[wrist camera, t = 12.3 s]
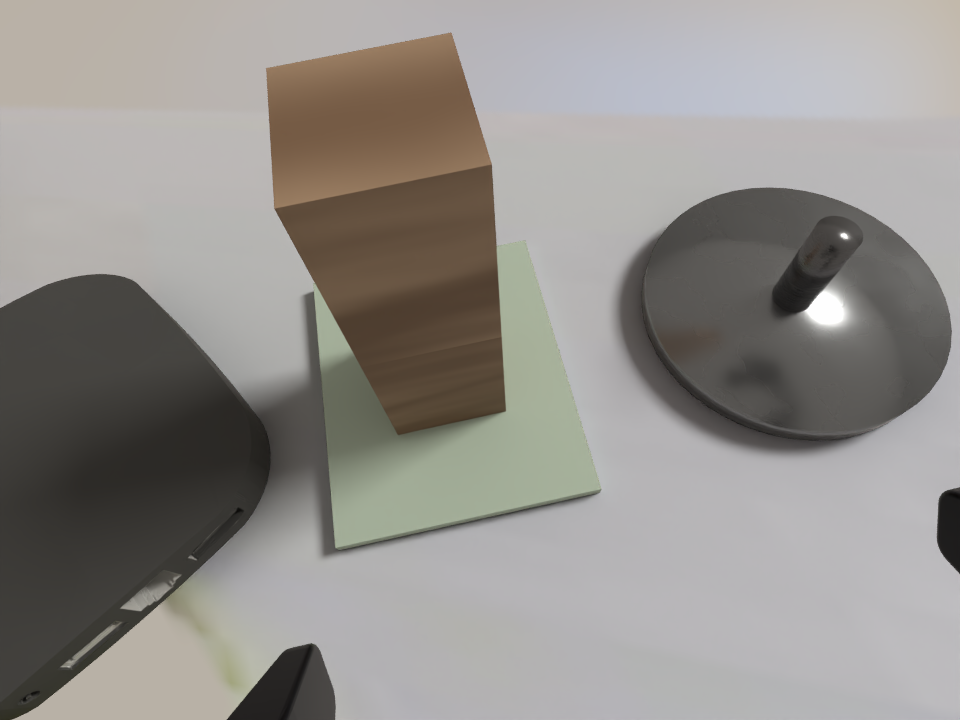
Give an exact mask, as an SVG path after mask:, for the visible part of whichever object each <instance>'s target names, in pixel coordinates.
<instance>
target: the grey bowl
mask: <svg viewBox="0 0 960 720" xmlns="http://www.w3.org/2000/svg"><path fill="white" fill-rule="evenodd" d="M642 312H643V318H644V323H645V326H646V329H647V332H648V335H649V338H650V340H651V342H652V344H653V346H654V348H655V351H656V353H657V354H658V356H659V357H660V359H661V360H662V362H663V363H664V365H665V366H666V368H667V369H668V370H669V371H670V373H671V374H672V375H673V376H674V377H675V378H676V380H677V381H678V382H679V383H680V384H681V385H682V386H683V387H684V388H686V389H687V390H688V391H689V392H690V393H691V394H692V395H693V396H694V397H696V398H697V399H698V400H700V401H701V402H702V403H704V404H705V405H707V406H708V407H709V408H711V409H713V410H714V411H716V412H718V413H719V414H721V415H723V416H725V417H726V418H728V419H730V420H732V421H735V422H737V423H739V424H741V425H744V426H746V427H748V428H751V429H754V430H758V431H761V432H764V433H767V434H771V435H776V436H780V437H785V438H791V439H802V440H834V439H840V438H847V437H853V436H856V435H859V434H863V433H866V432H869V431H872V430H874V429H876V428H878V427H881V426H883V425H885V424H887V423H889V422H890V421H892V420H893V419H895V418H896V417H898V416H900V415H901V414H903V413H904V412H906V411H907V410H909V409H910V408H911V407H913V406H914V405H916V404H917V403H918V402H920V401H921V400H922V399H923V398H924V397H925V396H926V395H927V394H928V393H929V392H930V391H931V389H932V388H933V387H934V385H935V384H936V382H937V381H938V380H939V378H940V376H941V374H942V372H943V370H944V368H945V366H946V363H947V360H948V356H949V352H950V348H951V333H952V330H951V321H950V313H949V310H948V306H947V303H946V299H945V297H944V294H943V292H942V290H941V288H940V285H939V283H938V281H937V280H936V278H935V276H934V275H933V273H932V272H931V270H930V268H929V267H928V265H927V264H926V263H925V262H924V260H923V259H922V258H921V257H920V255H919V254H918V253H917V252H916V251H915V250H914V249H913V248H912V247H911V246H910V245H909V244H908V243H907V242H906V241H905V240H904V239H903V238H902V237H900V236H899V235H898V234H897V233H895V232H894V231H893V230H892V229H891V228H889V227H888V226H886V225H885V224H883V223H882V222H880V221H879V220H877V219H876V218H874V217H872V216H871V215H869V214H867V213H865V212H863V211H861V210H859V209H858V208H855V207H853V206H851V205H848V204H846V203H844V202H841V201H839V200H835V199H832V198H829V197H826V196H823V195H819V194H815V193H811V192H806V191H801V190H793V189H786V188H751V189H744V190H738V191H732V192H729V193H725V194H721V195H718V196H715V197H712V198H710V199H707V200H705V201H703V202H701V203H699V204H697V205H695V206H693V207H691V208H690V209H688V210H687V211H686V212H684V213H683V214H681V215H680V216H679V217H678V218H677V219H676V220H675V221H673V222H672V223H671V224H670V225H669V226H668V227H667V229H666V230H665V231H664V233H663V234H662V235H661V237H660V238H659V240H658V242H657V244H656V245H655V247H654V249H653V251H652V254H651V257H650V260H649V263H648V266H647V269H646V272H645V276H644V280H643V286H642Z"/></svg>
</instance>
